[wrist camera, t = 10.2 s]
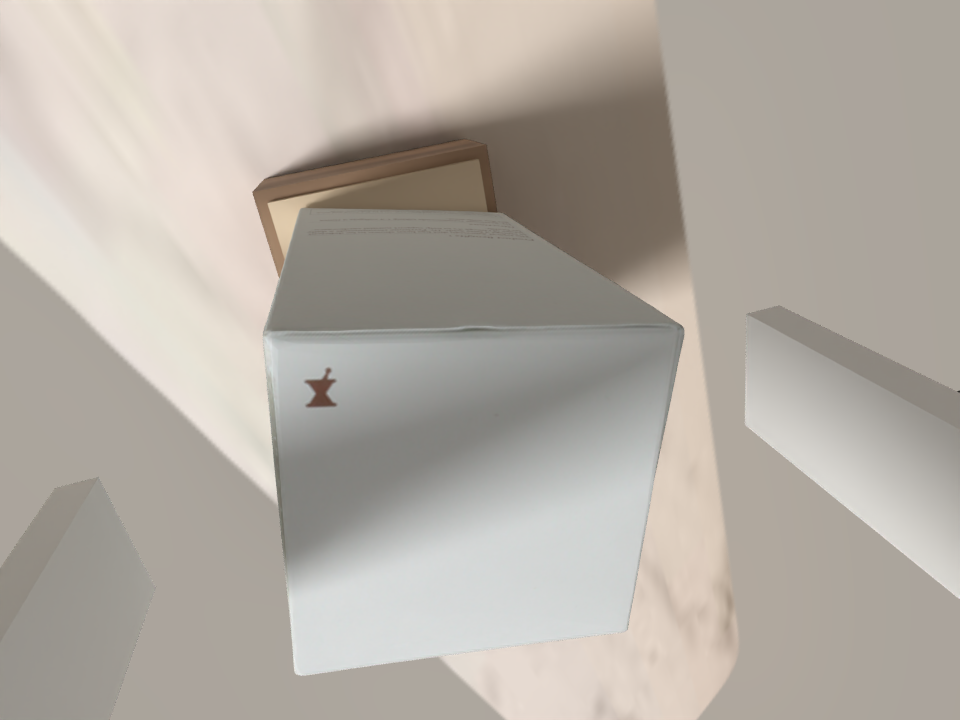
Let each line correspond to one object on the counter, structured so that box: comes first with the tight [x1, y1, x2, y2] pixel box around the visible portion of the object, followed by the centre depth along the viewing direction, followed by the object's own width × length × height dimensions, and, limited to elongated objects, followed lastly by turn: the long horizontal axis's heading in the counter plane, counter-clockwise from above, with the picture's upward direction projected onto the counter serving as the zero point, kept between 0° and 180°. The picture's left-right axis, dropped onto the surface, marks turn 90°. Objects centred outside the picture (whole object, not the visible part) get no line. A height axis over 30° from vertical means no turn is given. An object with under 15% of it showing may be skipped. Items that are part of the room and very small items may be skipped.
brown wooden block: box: [252, 139, 497, 278], centre depth 25 cm, size 10×8×4 cm
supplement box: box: [263, 208, 684, 676], centre depth 17 cm, size 7×7×13 cm
